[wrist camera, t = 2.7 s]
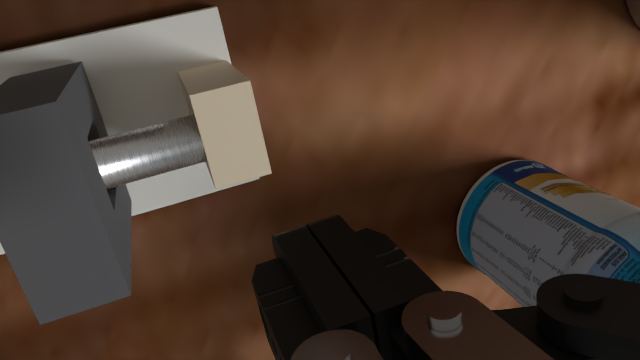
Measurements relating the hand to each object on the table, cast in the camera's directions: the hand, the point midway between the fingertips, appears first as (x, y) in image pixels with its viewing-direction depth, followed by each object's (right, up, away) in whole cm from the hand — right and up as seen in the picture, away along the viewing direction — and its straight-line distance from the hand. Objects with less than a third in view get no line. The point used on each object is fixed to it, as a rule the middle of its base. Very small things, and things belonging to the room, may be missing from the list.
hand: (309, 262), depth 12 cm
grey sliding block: (-11, +4, +13) cm, 18 cm away
